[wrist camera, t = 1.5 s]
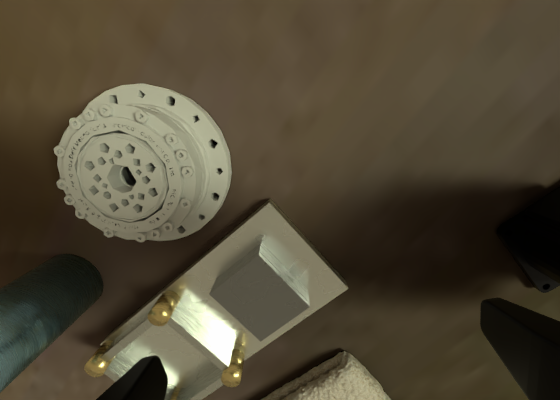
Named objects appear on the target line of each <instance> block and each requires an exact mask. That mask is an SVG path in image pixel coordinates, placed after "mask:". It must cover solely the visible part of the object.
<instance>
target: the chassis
mask: <svg viewBox="0 0 560 400" xmlns="http://www.w3.org/2000/svg"><path fill="white" fill-rule="evenodd" d="M347 289H348V286H347V283H346V281H345V279H344V278H343V277H342V276H341V275H340V274H339V273H338V272H337V271H336V270H335V269H334V267H333V266H332V265H331V264H330V263H329V262H328V261H327V260H326V259H325V258H324V257H323V255H322V254H321V253H320V252H319V251H318V250H317V249H316V248H315V247H314V246H313V245H312V243H311V242H310V241H309V240H308V239H307V238H306V237H305V236H304V235H303V234H302V233H301V231H300V230H299V229H298V228H297V227H296V226H295V225H294V224H293V223H292V222H291V221H290V219H289V218H288V217H287V216H286V215H285V214H284V213H283V212H282V211H281V210H280V209H279V207H278V206H277V205H276V204H275V203H274V202H273V201H272V200H271V199H269V200H268V201H267V202H265V203H264V204H263V205H262V206H261V207H259V208H258V209H257V210H256V211H255V212H253V213H252V214H251V215H250V216H249V217H248V218H246V219H245V220H244V221H243V222H242V223H240V224H239V225H238V226H237V227H236V228H234V229H233V230H232V231H231V232H230V233H229V234H227V235H226V236H225V237H224V238H223V239H221V240H220V241H219V242H218V243H217V244H215V245H214V246H213V247H212V248H211V249H209V250H208V251H207V252H206V253H205V254H204V255H202V256H201V257H200V258H199V259H198V260H196V261H195V262H194V263H193V264H192V265H190V266H189V267H188V268H187V269H186V270H185V271H183V272H182V273H181V274H180V275H179V276H177V277H176V278H175V279H174V280H173V281H171V282H170V283H169V284H168V285H167V286H166V287H164V288H163V289H162V290H161V291H160V292H158V293H157V294H156V295H155V296H154V297H152V298H151V299H150V300H149V301H148V302H146V303H145V304H144V305H143V306H142V307H141V308H139V309H138V310H137V311H136V312H135V313H133V314H132V315H131V316H130V317H129V318H127V319H126V320H125V321H124V322H123V323H122V324H120V325H119V326H118V327H117V328H116V329H114V330H113V331H112V332H111V333H110V334H108V336H107V337H106V338H105V339H104V340H103V342H102V343H101V344H100V345H101V346H100V348H99V349H98V350H97V351H96V352H95V354H94V355H93V356H92V357H91V358H90V360H89V361H88V362H87V363H86V365H85V367H84V369H85V371H86V373H87V374H88V375H90V376H93V377H100V376H102V375H103V373H104V374H106V375H107V376H108V377H110V378H111V379H112V380H114V381H115V382H116V381H117V380H118V379H119V378H120V377H122V376H123V375H124V374H125V373H126V372H127V371H128V370H129V369H130V368H131V367H133V366H134V365H135V364H136V363H137V362H138V361H139V360H140V359H142V358H144V357H148V356H154V355H156V356H158V357H159V358H160V360H161V362H162V364H163V367H164V369H165V372H166V374H167V377H168V386H167V391H166V395H165V400H202V399H203V398H205V397H206V396H208V395H209V394H211V393H212V392H214V391H215V390H216V389H218V388H219V387H221V386H222V385H226V386H228V387H235V386H237V385H239V383H240V381H241V375H242V369H243V364H244V360H246V359H247V358H249V357H250V356H252V355H253V354H255V353H256V352H257V351H259V350H260V349H262V348H263V347H265V346H266V345H268V344H269V343H270V342H272V341H273V340H275V339H276V338H278V337H279V336H281V335H282V334H284V333H285V332H286V331H288V330H289V329H291V328H292V327H294V326H295V325H297V324H298V323H299V322H301V321H302V320H304V319H305V318H307V317H308V316H310V315H311V314H312V313H314V312H315V311H317V310H318V309H320V308H321V307H323V306H324V305H325V304H327V303H328V302H330V301H331V300H333V299H334V298H336V297H337V296H338V295H340V294H341V293H343V292H344V291H346V290H347Z"/></svg>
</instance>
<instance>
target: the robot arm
mask: <svg viewBox="0 0 560 400" xmlns="http://www.w3.org/2000/svg"><path fill="white" fill-rule="evenodd" d="M507 230H508V232H507V233H506V234H505V232H506V231H507ZM497 234H498V236H499V237H500V239H501V240H502V242H503V243H504V245H505V246H506V247H507V249H508V250H509V252H510V253H511V254H512V256H513V257H514V259H515V260H516V261H517V263H518V264H519V266H520V267H521V269H522V270H523V271H524V273H525V274H526V276H527V277H528V278H529V280H530V281H531V283H532V284H533V285H534V287H535V288H536V289H538V290H539V291H541V292H543V293H546V292H549V291H551V290H553V289H554V288H556V287H558V286H560V187H559V188H557V189H556V190H554V191H553V192H551V193H549V194H548V195H546V196H545V197H543V198H542V199H540V200H539V201H537V202H536V203H534V204H533V205H531V206H530V207H528V208H527V209H525V210H524V211H522V212H521V213H519V214H518V215H516V216H514V217H513V218H511V219H510V220H508V221H507V222H505V223H504V224H502V225H501V226H500V227H499V228H498V229H497ZM480 324H481V329H482V332H483V334H484V335H485V337H486V338H487V340H488V341H489V343H490V344H491V345H492V347H493V348H494V350H495V351H496V353H497V354H498V356H499V357H500V359H501V360H502V362H503V363H504V364H505V366H506V367H507V369H508V370H509V372H510V373H511V375H512V376H513V378H514V379H515V381H516V382H517V383H518V385H519V386H520V388H521V389H522V390H523V392H524V393H525V395H526V396H527V397H528V399H529V400H560V321H557V320H555V319H552V318H550V317H547V316H545V315H542V314H539V313H537V312H534V311H532V310H529V309H527V308H524V307H522V306H519V305H517V304H514V303H512V302H509V301H507V300H504V299H501V298H492V299H486V300H483V301H482V302H481V319H480ZM167 386H168V377H167V374H166V372H165V369H164V367H163V364H162V362H161V360H160V358H159V357H158V356H156V355H154V356H148V357H144V358H142V359H140V360H139V361H138V362H137V363H136V364H135V365H134V366H133V367H131V368H130V369H129V370H128V371H127V372H126V373H125V374H124V375H123V376H122V377H120V378H119V379H118V380H117V381H116V382H115V383H114V384H113V385H112V386H111V387H110V388H108V389H107V390H106V391H105V392H104V393H103V394H102V395H101V396H100V397H99V398H97V399H96V400H165V395H166V391H167Z"/></svg>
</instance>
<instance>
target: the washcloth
mask: <svg viewBox="0 0 560 400" xmlns="http://www.w3.org/2000/svg"><path fill="white" fill-rule="evenodd" d="M261 400H391V399H390V398H389V397H388V395H387V394H386V393H385V392H384V391H383V388H382V386H381V385H380V384H379V382H378V381H377V380H376V379H375V378H374V377H373V376H372V375H371V374H370V373H369V372H368V370H366V368H365V366H363V365H361V364H360V362H359V361H358V360H357V359H356V358H354V357H353V355H351V354H350V353H348V352H345V351H343V352H339V353H338V354H337V355H336V356H335V357H333V358H331V359H328V360H327V361H325V362H323V363H321V365H318V367H314V368H312V369H311V370H309V371H308V372H307V373H305V374H303V375H302V376H301V377H299V378H296V379H295V380H293V381H291V382H289V383H286V384H285V385H283V387H281V388H279V389H275V391H274V392H272V393H271V394H269V395H268V396H267V397H265V398H262V399H261Z"/></svg>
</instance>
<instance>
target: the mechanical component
mask: <svg viewBox="0 0 560 400" xmlns="http://www.w3.org/2000/svg"><path fill="white" fill-rule="evenodd" d="M174 99H175V104H173V102H174ZM198 117H199V119H200V120H199V121H198ZM213 140H215V141H216V142H217V143H218V144H217V145H216V147H215V145H214V143H213V142H212V141H213ZM54 153H55V154H56V155H57V156H58V162H57V166H58V170H59V174H60V178H61V179H59V180H58V181H57V182H56V183H57V186H58V188H59V189H62V190H64V192H65V194H66V197H65V198H64V200H65V203H66V204H68V205H73V206H74V207H75V209H76V210H75V216H77V217H78V218H79V219H84V218H85V219H86V220H87V221H88V222H89V223H90V224H92V225H93V226H95V227H96V228H98V229H100V230H101V231H103V232H104V235H105V236H107V237H108V238H109V237H113V236H114V235H115V236H117V237H120V238H123V239H126V240H136V241H138V242H144V241H145V240H154V241H167V240H175V239H179V238H182V237H186V236H188V235H190V234H192V233H194V232H196V231H198V230H200V229H201V228H202V227H203V226H204V225H205V224H207V223H208V222H209V221H210V220H211V219H212V218H213V217H214V216H215V214H216V213H217V212H218V210H219V209H220V208H221V206H222V205H223V202H224V200H225V197H226V195H227V193H228V190H229V187H230V182H231V174H232V171H231V160H230V152H229V150H228V147H227V144H226V142H225V139H224V137H223V134H222V132H221V130H220V129H219V127H218V126H217V124H216V123H215V122H214V120H213V119H212V118H211V116H210V115H209V114H208V113H207V112H206V111H205V110H204V109H203V108H201V107H200V106H199V105H198V104H197V103H196V102H194V101H193V100H192V99H190V98H188V97H186V96H184V95H181V94H179V93H177V92H175V91H173V90H170V89H166V88H161V87H157V86H152V85H148V84H132V85H121V86H119V87H116V88H113V89H110V90H107V91H105V92H104V93H102V94H101V95H99V96H98V97H97V98H95V99H94V100H92V101H91V102H90V103H89V104H88V105H87V107H86V108H85V110H83V113H82V114H81V115H79V116H78V117H77V118H71V119H70V120H69V126H68V128H67V129H66V131H65V132H64V134H63V136H62V139H61V141H60V144H59V146H56V147H55V148H54ZM220 168H221V169H222V171H221V170H220ZM215 193H217V194H218V195H219V196H218V195H216V194H215Z"/></svg>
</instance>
